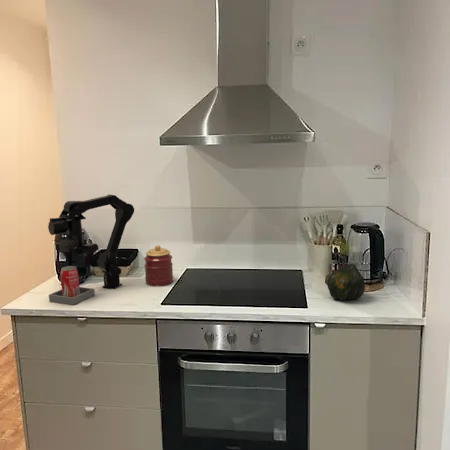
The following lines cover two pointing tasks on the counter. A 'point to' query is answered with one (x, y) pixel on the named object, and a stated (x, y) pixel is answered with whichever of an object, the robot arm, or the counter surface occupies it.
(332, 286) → the squash
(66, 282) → the soda can
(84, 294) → the bin
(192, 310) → the counter surface
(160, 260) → the canister
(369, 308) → the counter surface
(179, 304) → the counter surface
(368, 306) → the counter surface
